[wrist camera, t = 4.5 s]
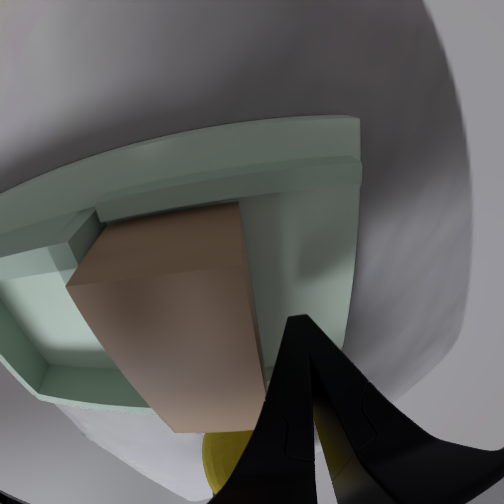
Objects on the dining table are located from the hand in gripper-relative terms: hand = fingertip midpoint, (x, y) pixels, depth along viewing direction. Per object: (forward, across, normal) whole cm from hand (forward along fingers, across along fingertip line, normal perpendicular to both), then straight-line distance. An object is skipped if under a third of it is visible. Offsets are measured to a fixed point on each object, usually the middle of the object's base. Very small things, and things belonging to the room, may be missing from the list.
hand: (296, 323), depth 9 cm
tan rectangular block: (+1, +3, 0) cm, 3 cm away
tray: (+2, +6, 0) cm, 7 cm away
